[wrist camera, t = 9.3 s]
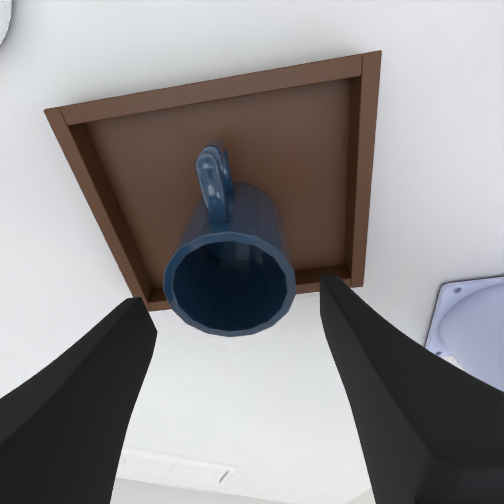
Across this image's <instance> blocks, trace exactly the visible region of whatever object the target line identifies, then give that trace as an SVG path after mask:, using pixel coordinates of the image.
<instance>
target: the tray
mask: <svg viewBox="0 0 504 504" xmlns="http://www.w3.org/2000/svg"><path fill="white" fill-rule="evenodd" d="M381 55H382V51H381V50H380V51H374V52H368V53H363V54H357V55H351V56H345V57H340V58H334V59H328V60H323V61H317V62H311V63H305V64H300V65H294V66H288V67H283V68H277V69H271V70H265V71H260V72H254V73H248V74H243V75H237V76H231V77H226V78H220V79H214V80H208V81H203V82H197V83H191V84H186V85H180V86H174V87H168V88H163V89H157V90H151V91H146V92H140V93H134V94H129V95H123V96H117V97H111V98H106V99H100V100H94V101H89V102H83V103H77V104H71V105H66V106H60V107H55V108H49V109H45V110H44V113H45V115H46V117H47V119H48V121H49V123H50V126H51V128H52V130H53V132H54V134H55V136H56V138H57V140H58V142H59V144H60V146H61V148H62V150H63V152H64V155H65V157H66V159H67V161H68V163H69V165H70V167H71V169H72V171H73V173H74V175H75V177H76V179H77V181H78V184H79V186H80V188H81V190H82V192H83V194H84V196H85V198H86V200H87V202H88V204H89V206H90V208H91V211H92V213H93V215H94V217H95V219H96V221H97V223H98V225H99V227H100V229H101V231H102V233H103V235H104V237H105V240H106V242H107V244H108V246H109V248H110V250H111V252H112V254H113V256H114V258H115V260H116V262H117V264H118V266H119V269H120V271H121V273H122V275H123V277H124V279H125V281H126V283H127V285H128V287H129V289H130V291H131V293H132V295H133V298H135V297H142V299H143V302H144V304H145V306H146V308H147V310H148V312H149V311H159V310H168V309H171V307H170V305H169V302H168V300H167V297H166V295H165V293H164V290H163V282H164V273H165V267H166V265H167V262H168V260H169V258H170V256H171V254H172V252H173V250H174V247H175V245H176V243H177V241H178V239H179V237H180V234H181V232H182V230H183V228H184V226H185V224H186V221H187V219H188V217H189V215H190V213H191V211H192V209H193V207H194V206H195V204H196V202H197V200H198V199H199V198H200V197H201V195H202V193H201V189H200V185H199V181H198V177H197V173H196V169H195V161H196V159H197V157H198V156H199V154H200V153H201V152H202V150H203V149H204V148H205V146H206V145H207V143H208V142H209V141H210V140H211V139H212V138H214V137H219V138H221V139H222V140H223V141H224V142H225V144H226V148H227V154H228V159H229V165H230V170H231V175H232V181H236V182H245V183H249V184H252V185H254V186H257V187H259V188H260V189H262V190H263V191H265V192H266V193H267V194H268V195H269V196H270V197H271V198H272V199H273V201H274V202H275V204H276V206H277V208H278V210H279V212H280V214H281V218H282V222H283V226H284V230H285V235H286V239H287V243H288V247H289V251H290V255H291V259H292V263H293V268H294V272H295V282H296V294H303V293H311V292H320V283H319V275H328V274H336V275H338V276H339V277H340V278H341V279H342V280H343V281H344V282H345V283H346V285H347V286H348V287H350V288H354V287H363V282H364V269H365V256H366V244H367V231H368V219H369V206H370V193H371V181H372V168H373V156H374V143H375V130H376V118H377V105H378V93H379V80H380V67H381Z"/></svg>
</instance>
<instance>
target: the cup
mask: <svg viewBox="0 0 504 504" xmlns="http://www.w3.org/2000/svg"><path fill="white" fill-rule="evenodd" d="M195 169H196V173H197V177H198V181H199V185H200V189H201V193H202V195H201V197H200V198H199V199H198V200H197V202H196V204H195V206H194V207H193V209H192V211H191V213H190V215H189V217H188V219H187V221H186V224H185V226H184V228H183V230H182V232H181V234H180V237H179V239H178V241H177V243H176V245H175V247H174V250H173V252H172V254H171V256H170V258H169V260H168V262H167V265H166V267H165V273H164V282H163V290H164V293H165V295H166V297H167V300H168V302H169V305H170V307H171V309H172V310H173V311H174V312H175V313H176V314H177V315H178V316H179V317H180V318H181V319H182V320H183V321H184V322H185V323H187V324H188V325H190V326H192V327H195V328H197V329H199V330H201V331H203V332H205V333H208V334H213V335H219V336H225V337H236V336H245V335H252V334H255V333H258V332H260V331H262V330H265V329H267V328H269V327H272V326H273V325H274V324H276V323H277V322H278V321H279V320H280V319H281V318H282V317H283V316H284V315H285V314H286V313H287V312H288V311H289V309H290V307H291V304H292V302H293V300H294V297H295V295H296V282H295V272H294V268H293V263H292V259H291V255H290V251H289V247H288V243H287V239H286V235H285V230H284V226H283V222H282V218H281V214H280V212H279V210H278V208H277V206H276V204H275V202H274V201H273V199H272V198H271V197H270V196H269V195H268V194H267V193H266V192H265V191H263V190H262V189H260V188H259V187H257V186H254V185H252V184H249V183H245V182H236V181H232V175H231V170H230V165H229V159H228V154H227V148H226V144H225V142H224V141H223V140H222V139H221V138H219V137H214V138H212V139H211V140H210V141H209V142H208V143H207V145H206V146H205V148H204V149H203V150H202V152H201V153H200V154H199V156H198V157H197V159H196V161H195Z"/></svg>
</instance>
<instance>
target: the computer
mask: <svg viewBox="0 0 504 504" xmlns="http://www.w3.org/2000/svg"><path fill="white" fill-rule="evenodd" d="M11 3H12V0H0V44H1V43H2V41H3V40H4V37H5V35H6V33H7V30H8V28H9V23H10V18H11Z"/></svg>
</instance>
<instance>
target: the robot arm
mask: <svg viewBox="0 0 504 504" xmlns="http://www.w3.org/2000/svg"><path fill="white" fill-rule="evenodd" d="M319 283H320V315H321V319H322V324H323V328H324V332H325V336H326V339H327V342H328V345H329V347H330V350H331V353H332V356H333V358H334V361H335V364H336V366H337V369H338V372H339V374H340V377H341V380H342V382H343V385H344V388H345V390H346V393H347V396H348V399H349V402H350V406H351V409H352V413H353V417H354V420H355V424H356V428H357V431H358V435H359V439H360V443H361V447H362V451H363V454H364V458H365V462H366V466H367V470H368V474H369V478H370V482H371V486H372V490H373V494H374V498H375V502H376V504H504V277H496V278H488V279H479V280H471V281H462V282H453V283H447V284H445V285H443V286H442V287H441V290H440V293H439V297H438V301H437V305H436V308H435V312H434V316H433V320H432V323H431V327H430V331H429V335H428V339H427V342H426V346H425V348H424V347H422V346H421V345H419V344H418V343H417V342H415V341H414V340H412V339H411V338H409V337H408V336H406V335H405V334H404V333H402V332H401V331H399V330H398V329H397V328H395V327H394V326H393V325H392V324H390V323H389V322H388V321H387V320H385V319H384V318H383V317H382V316H380V315H379V314H378V313H377V312H376V311H374V310H373V309H372V308H371V307H370V306H369V305H368V304H367V303H365V302H364V301H363V300H362V299H361V298H360V297H359V296H358V295H357V294H356V293H355V292H354V291H353V290H352V289H351V288H350V287H348V286H347V285H346V283H345V282H344V281H343V280H342V279H341V278H340V277H339V276H338V275H336V274H328V275H319ZM456 288H457V289H456ZM156 337H157V330H156V328H155V326H154V323H153V321H152V319H151V317H150V315H149V312H148V310H147V308H146V306H145V304H144V302H143V299H142V297H135V298H127V299H126V300H124V301H123V302H122V303H121V304H119V305H118V306H117V307H116V308H115V309H114V310H112V311H111V312H110V313H109V314H108V315H107V316H106V317H105V318H103V319H102V320H101V321H100V322H99V323H98V324H97V325H96V326H94V327H93V328H92V329H91V330H90V331H89V332H88V333H87V334H85V335H84V336H83V337H82V338H81V339H80V340H78V341H77V342H76V343H75V344H74V345H72V346H71V347H70V348H69V349H68V350H66V351H65V352H64V353H63V354H61V355H60V356H59V357H58V358H57V359H55V360H54V361H53V362H52V363H50V364H49V365H48V366H46V367H45V368H44V369H42V370H41V371H40V372H38V373H37V374H36V375H34V376H33V377H31V378H30V379H29V380H27V381H26V382H24V383H23V384H22V385H20V386H19V387H17V388H16V389H14V390H13V391H11V392H10V393H8V394H7V395H5V396H3V397H2V398H0V504H110V500H111V495H112V490H113V485H114V481H115V476H116V472H117V468H118V463H119V459H120V455H121V450H122V447H123V443H124V439H125V435H126V431H127V427H128V424H129V420H130V417H131V414H132V411H133V408H134V406H135V403H136V400H137V397H138V395H139V392H140V389H141V386H142V384H143V381H144V378H145V375H146V373H147V370H148V367H149V364H150V361H151V358H152V355H153V351H154V347H155V342H156ZM451 355H452V356H453V357H454V358H455V360H456V361H457V362H458V364H459V365H460V366H461V368H462V369H463V370H464V371H463V370H461V369H459V368H457V367H456V366H454V365H452V364H451V363H449V362H447V361H445V360H444V359H442V358H440V357H441V356H451Z"/></svg>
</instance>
